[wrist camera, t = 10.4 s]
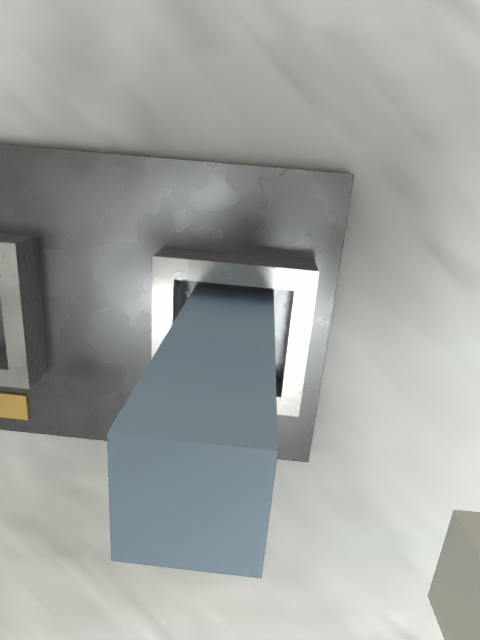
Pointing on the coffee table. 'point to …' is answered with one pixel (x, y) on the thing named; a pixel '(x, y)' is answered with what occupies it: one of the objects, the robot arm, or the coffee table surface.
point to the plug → (200, 441)
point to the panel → (154, 276)
